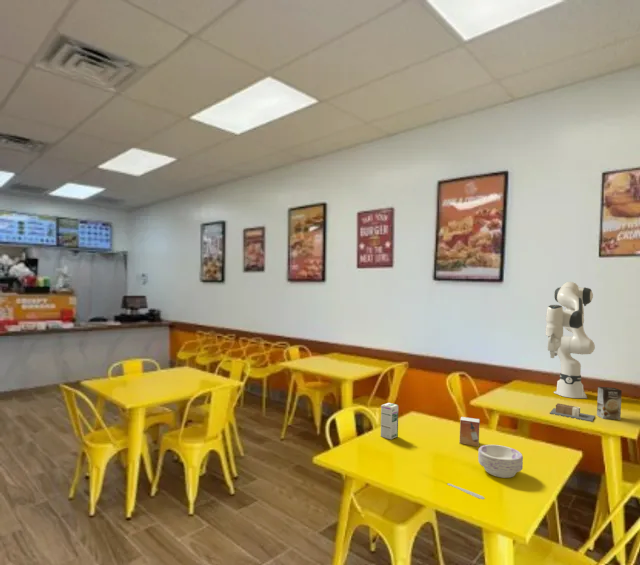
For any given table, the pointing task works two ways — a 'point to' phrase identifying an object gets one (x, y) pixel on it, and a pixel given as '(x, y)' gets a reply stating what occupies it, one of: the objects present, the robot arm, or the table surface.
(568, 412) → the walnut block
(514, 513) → the table surface
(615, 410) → the coffee box
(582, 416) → the mat
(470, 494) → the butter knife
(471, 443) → the small box
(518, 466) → the paper bowls
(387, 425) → the syrup box
